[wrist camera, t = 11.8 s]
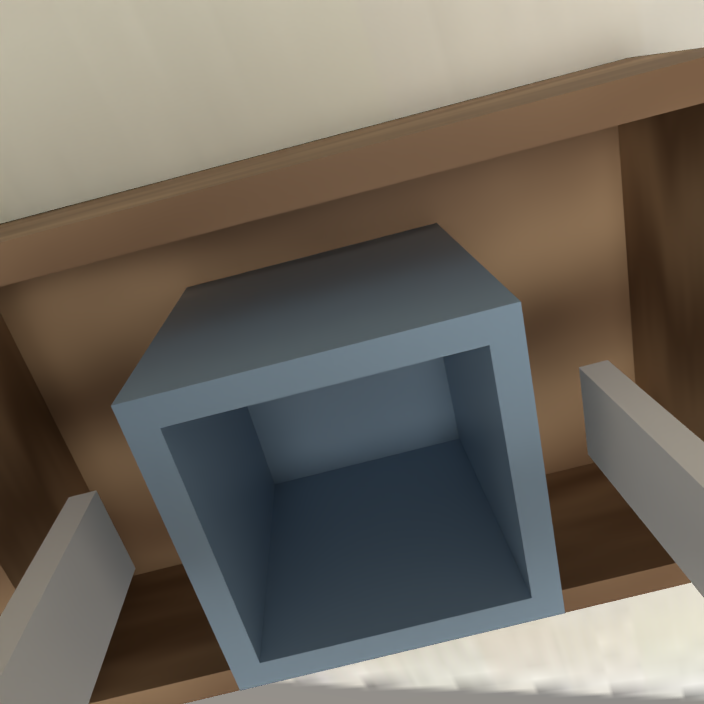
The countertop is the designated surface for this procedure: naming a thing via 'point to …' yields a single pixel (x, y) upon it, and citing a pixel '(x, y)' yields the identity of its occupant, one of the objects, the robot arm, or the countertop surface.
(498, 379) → the slate crate
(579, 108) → the walnut crate
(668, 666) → the countertop surface
